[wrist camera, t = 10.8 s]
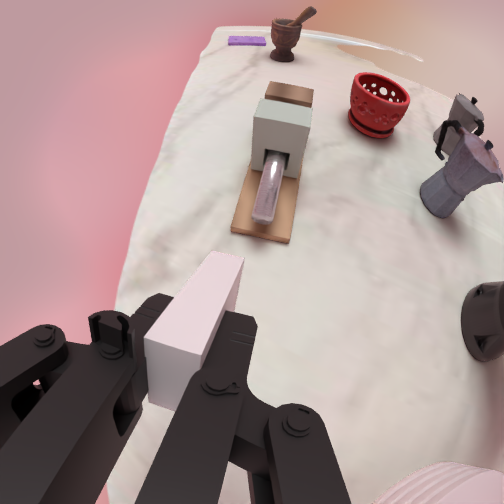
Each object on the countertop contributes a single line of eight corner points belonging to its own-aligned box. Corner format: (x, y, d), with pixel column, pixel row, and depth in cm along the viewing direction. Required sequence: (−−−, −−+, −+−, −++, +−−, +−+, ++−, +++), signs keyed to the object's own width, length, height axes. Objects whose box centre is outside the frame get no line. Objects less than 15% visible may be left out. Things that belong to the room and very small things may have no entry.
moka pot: (450, 237, 45) (512, 179, 27) (398, 184, 49) (445, 111, 31) (463, 214, 48) (516, 159, 30) (416, 166, 52) (457, 101, 34)
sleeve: (300, 158, 48) (312, 108, 37) (297, 178, 46) (310, 127, 35) (256, 149, 48) (260, 98, 38) (250, 169, 46) (253, 116, 36)
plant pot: (362, 104, 61) (375, 68, 50) (401, 134, 57) (419, 98, 46) (331, 116, 57) (343, 74, 46) (374, 150, 53) (394, 109, 42)
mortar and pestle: (301, 53, 72) (309, 2, 54) (309, 64, 69) (319, 9, 50) (266, 52, 71) (271, -1, 53) (272, 63, 67) (278, 5, 49)
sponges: (228, 40, 76) (228, 35, 75) (264, 40, 77) (264, 36, 75) (228, 46, 73) (228, 42, 72) (266, 47, 74) (266, 42, 72)
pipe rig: (305, 134, 53) (316, 90, 43) (288, 243, 43) (303, 200, 32) (263, 125, 54) (267, 80, 44) (230, 231, 43) (228, 185, 33)
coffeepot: (426, 124, 61) (452, 77, 44) (450, 134, 60) (477, 91, 44) (442, 162, 54) (477, 112, 38) (467, 172, 54) (502, 128, 38)
